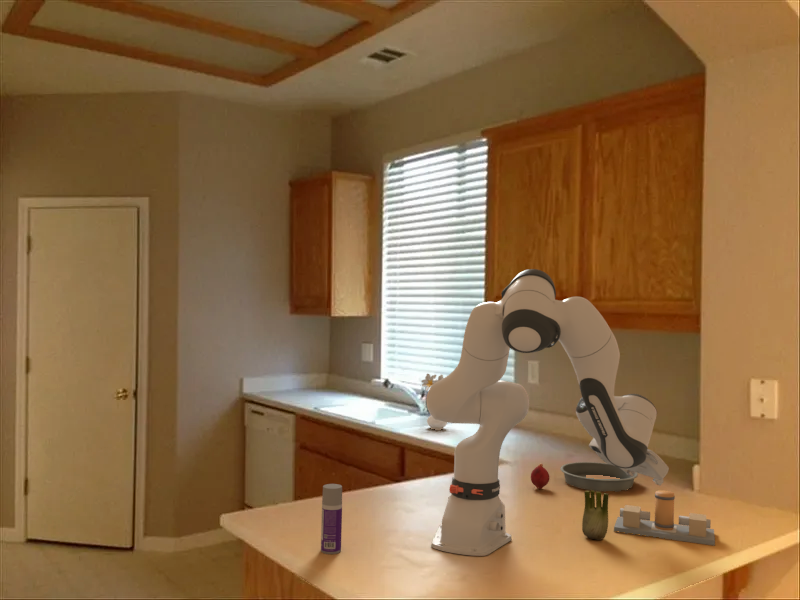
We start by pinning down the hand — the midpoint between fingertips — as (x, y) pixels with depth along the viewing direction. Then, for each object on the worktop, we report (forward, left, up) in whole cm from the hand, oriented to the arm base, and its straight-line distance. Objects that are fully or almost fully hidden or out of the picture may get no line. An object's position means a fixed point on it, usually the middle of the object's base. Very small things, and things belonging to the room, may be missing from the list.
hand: (645, 478), depth 187 cm
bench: (+3, -5, -14) cm, 15 cm away
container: (-47, +66, -14) cm, 83 cm away
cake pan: (+49, +17, -15) cm, 54 cm away
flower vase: (+117, +96, -14) cm, 152 cm away
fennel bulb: (-10, +11, -15) cm, 21 cm away
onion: (+32, +33, -14) cm, 49 cm away
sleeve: (+3, -5, -13) cm, 14 cm away
